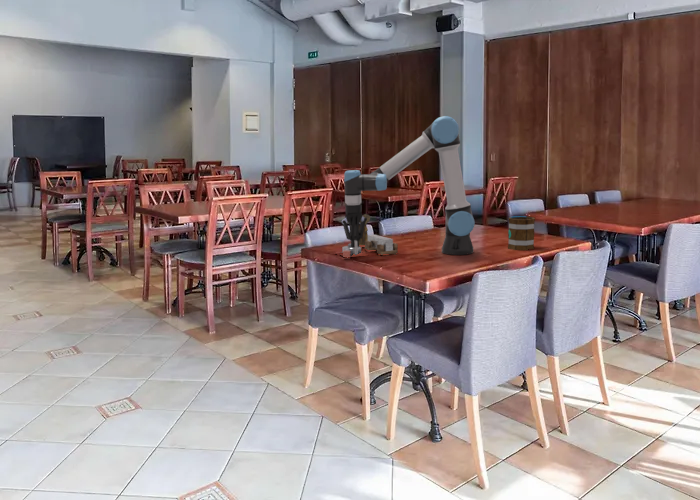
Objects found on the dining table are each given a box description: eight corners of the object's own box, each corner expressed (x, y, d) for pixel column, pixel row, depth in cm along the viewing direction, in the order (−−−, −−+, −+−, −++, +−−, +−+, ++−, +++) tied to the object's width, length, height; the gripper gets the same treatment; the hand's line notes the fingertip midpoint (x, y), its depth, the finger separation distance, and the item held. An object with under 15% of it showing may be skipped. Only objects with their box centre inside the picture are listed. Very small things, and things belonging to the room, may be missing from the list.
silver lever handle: (344, 251, 316) (344, 242, 315) (362, 251, 314) (362, 242, 314) (337, 258, 300) (336, 248, 299) (356, 258, 298) (355, 248, 298)
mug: (539, 249, 316) (540, 219, 313) (512, 251, 314) (513, 220, 311) (523, 243, 335) (524, 214, 332) (498, 244, 333) (499, 215, 330)
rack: (397, 254, 311) (397, 243, 311) (381, 256, 307) (381, 245, 306) (380, 249, 325) (380, 239, 324) (364, 251, 321) (364, 241, 320)
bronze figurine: (357, 249, 325) (357, 214, 322) (349, 245, 338) (349, 211, 335) (374, 248, 328) (374, 213, 325) (366, 244, 340) (365, 210, 337)
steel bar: (392, 250, 310) (392, 239, 309) (385, 251, 308) (385, 239, 307) (374, 245, 325) (374, 234, 324) (367, 246, 323) (367, 235, 322)
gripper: (361, 202, 306) (363, 251, 310) (337, 204, 300) (339, 254, 305) (369, 203, 299) (371, 253, 304) (344, 206, 294) (346, 257, 298)
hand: (355, 254), depth 304 cm, fingers closed
